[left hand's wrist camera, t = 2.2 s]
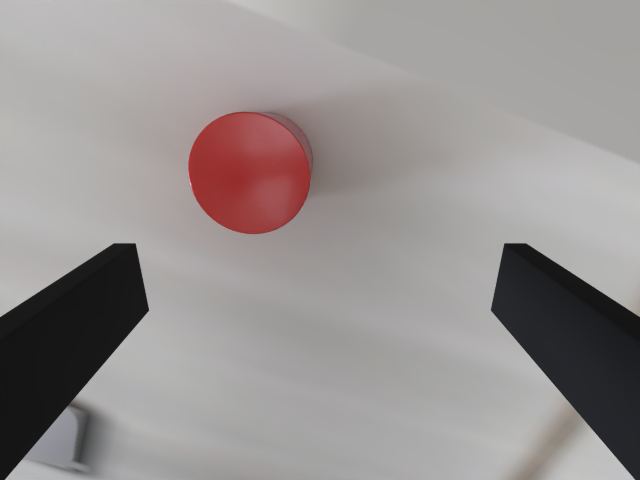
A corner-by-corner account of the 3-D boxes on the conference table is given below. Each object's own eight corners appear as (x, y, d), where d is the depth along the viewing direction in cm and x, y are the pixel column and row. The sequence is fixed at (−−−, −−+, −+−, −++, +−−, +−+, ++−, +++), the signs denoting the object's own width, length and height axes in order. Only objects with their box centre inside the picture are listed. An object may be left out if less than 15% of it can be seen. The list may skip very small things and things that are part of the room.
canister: (316, 118, 27) (315, 119, 20) (308, 207, 30) (304, 239, 22) (223, 107, 27) (186, 104, 19) (222, 198, 29) (189, 228, 22)
